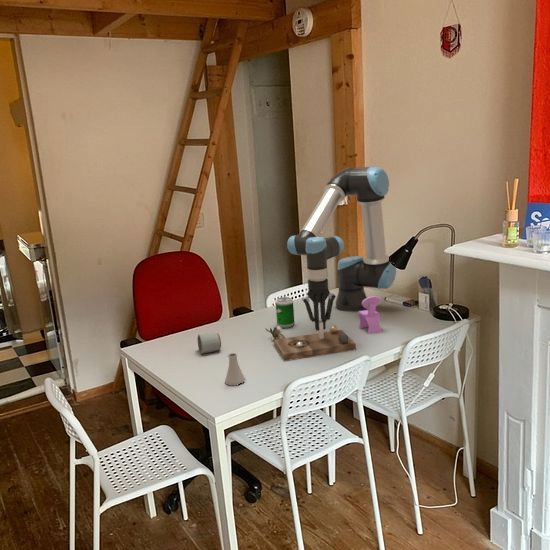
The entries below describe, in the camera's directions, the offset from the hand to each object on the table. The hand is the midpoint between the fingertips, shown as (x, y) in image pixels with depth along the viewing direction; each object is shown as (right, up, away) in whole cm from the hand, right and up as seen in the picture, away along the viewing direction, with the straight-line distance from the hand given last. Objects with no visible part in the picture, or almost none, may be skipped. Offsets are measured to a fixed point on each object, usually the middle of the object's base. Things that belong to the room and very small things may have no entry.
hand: (321, 337), depth 222 cm
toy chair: (+21, +1, +15) cm, 26 cm away
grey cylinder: (-44, -6, +5) cm, 45 cm away
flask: (-31, -13, -25) cm, 42 cm away
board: (-3, -4, 0) cm, 5 cm away
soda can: (-13, +2, +27) cm, 30 cm away
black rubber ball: (+8, 0, -5) cm, 9 cm away
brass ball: (+5, +2, +7) cm, 9 cm away
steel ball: (-8, -3, -2) cm, 9 cm away
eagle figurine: (-17, -3, +10) cm, 20 cm away
